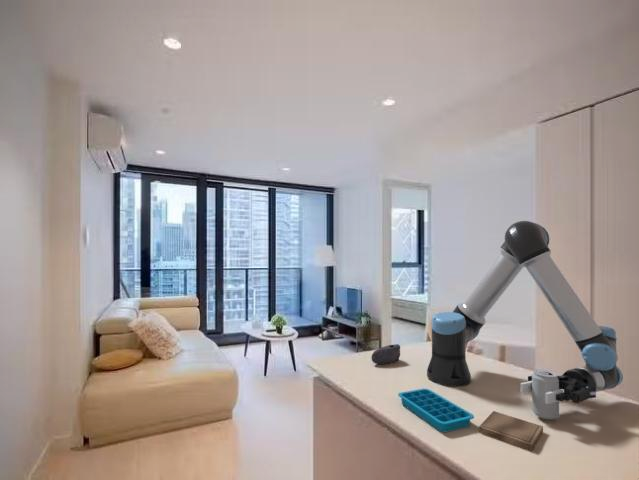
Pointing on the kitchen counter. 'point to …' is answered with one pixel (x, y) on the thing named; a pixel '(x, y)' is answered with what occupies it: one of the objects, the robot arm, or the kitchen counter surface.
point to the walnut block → (512, 430)
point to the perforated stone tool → (386, 354)
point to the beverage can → (540, 386)
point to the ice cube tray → (436, 409)
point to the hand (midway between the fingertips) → (533, 393)
